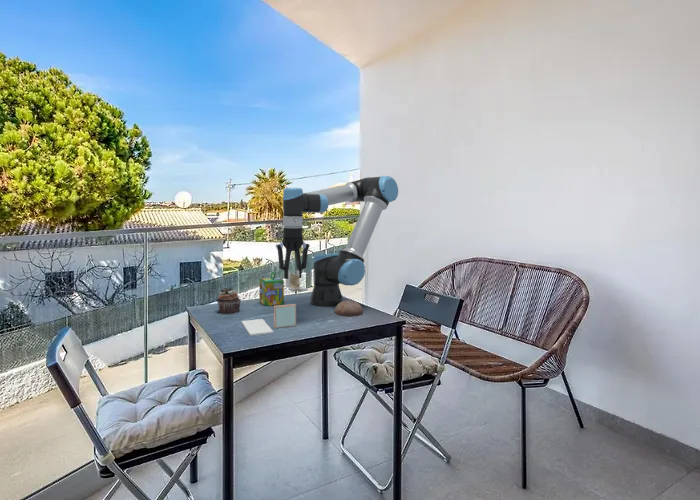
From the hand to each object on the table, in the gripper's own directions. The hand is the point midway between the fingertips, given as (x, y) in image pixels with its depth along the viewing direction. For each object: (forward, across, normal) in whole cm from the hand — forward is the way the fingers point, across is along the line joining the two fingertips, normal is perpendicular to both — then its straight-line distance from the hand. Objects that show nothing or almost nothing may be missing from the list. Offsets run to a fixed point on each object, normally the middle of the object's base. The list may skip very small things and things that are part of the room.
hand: (292, 286), depth 161 cm
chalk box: (+13, -1, +29) cm, 32 cm away
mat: (+13, -16, -7) cm, 22 cm away
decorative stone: (+13, +24, -2) cm, 27 cm away
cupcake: (+13, -21, +22) cm, 33 cm away
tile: (+13, -6, -10) cm, 17 cm away
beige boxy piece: (0, 0, -2) cm, 2 cm away
